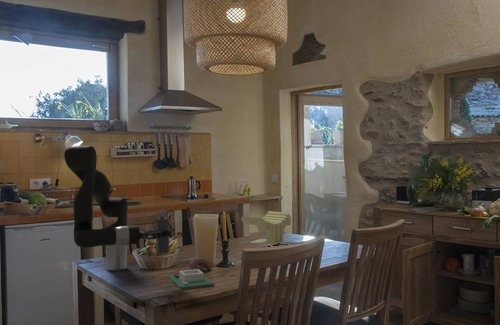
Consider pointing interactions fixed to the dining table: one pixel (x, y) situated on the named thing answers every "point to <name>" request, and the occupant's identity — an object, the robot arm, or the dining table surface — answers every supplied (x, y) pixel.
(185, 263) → the dining table surface
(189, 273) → the circuit board
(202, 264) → the video game controller
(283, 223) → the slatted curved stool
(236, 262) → the dining table surface
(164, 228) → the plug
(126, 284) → the dining table surface
